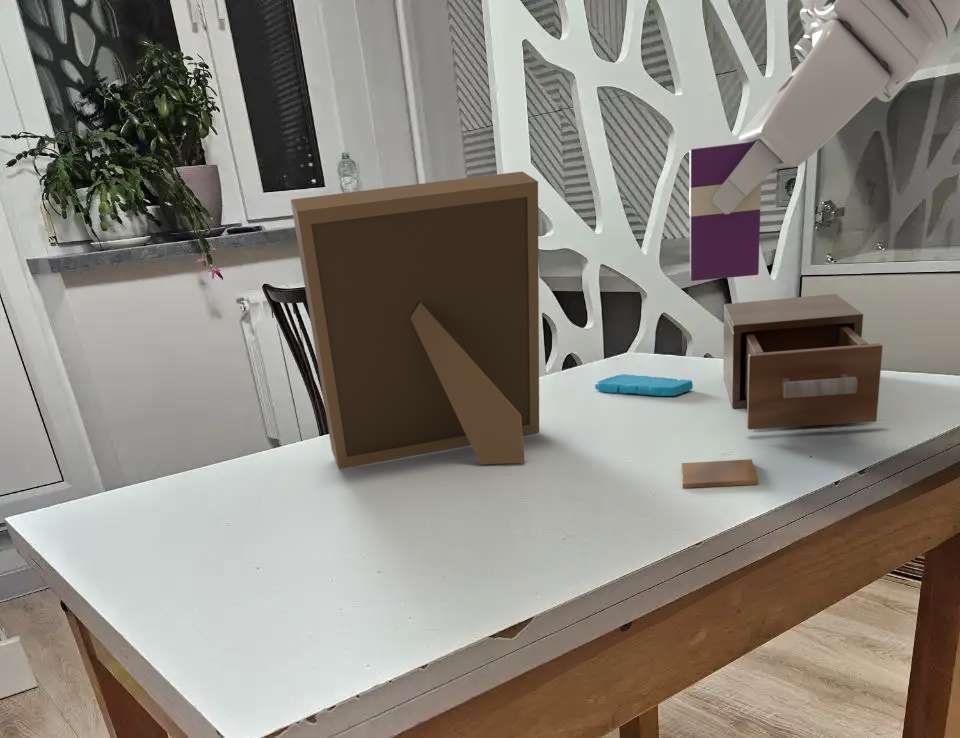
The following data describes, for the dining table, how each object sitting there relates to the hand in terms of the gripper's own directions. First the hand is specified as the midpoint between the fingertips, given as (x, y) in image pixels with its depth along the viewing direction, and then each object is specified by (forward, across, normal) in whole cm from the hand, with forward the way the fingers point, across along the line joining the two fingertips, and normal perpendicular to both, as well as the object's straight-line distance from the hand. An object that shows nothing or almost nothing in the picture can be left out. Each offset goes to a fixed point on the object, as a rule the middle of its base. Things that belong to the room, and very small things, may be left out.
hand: (716, 207), depth 69 cm
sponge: (+19, -35, +10) cm, 42 cm away
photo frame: (+33, -10, -3) cm, 35 cm away
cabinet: (+8, -31, +21) cm, 39 cm away
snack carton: (+3, 0, +4) cm, 5 cm away
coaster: (+14, +1, +15) cm, 21 cm away
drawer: (+7, -16, +21) cm, 27 cm away
